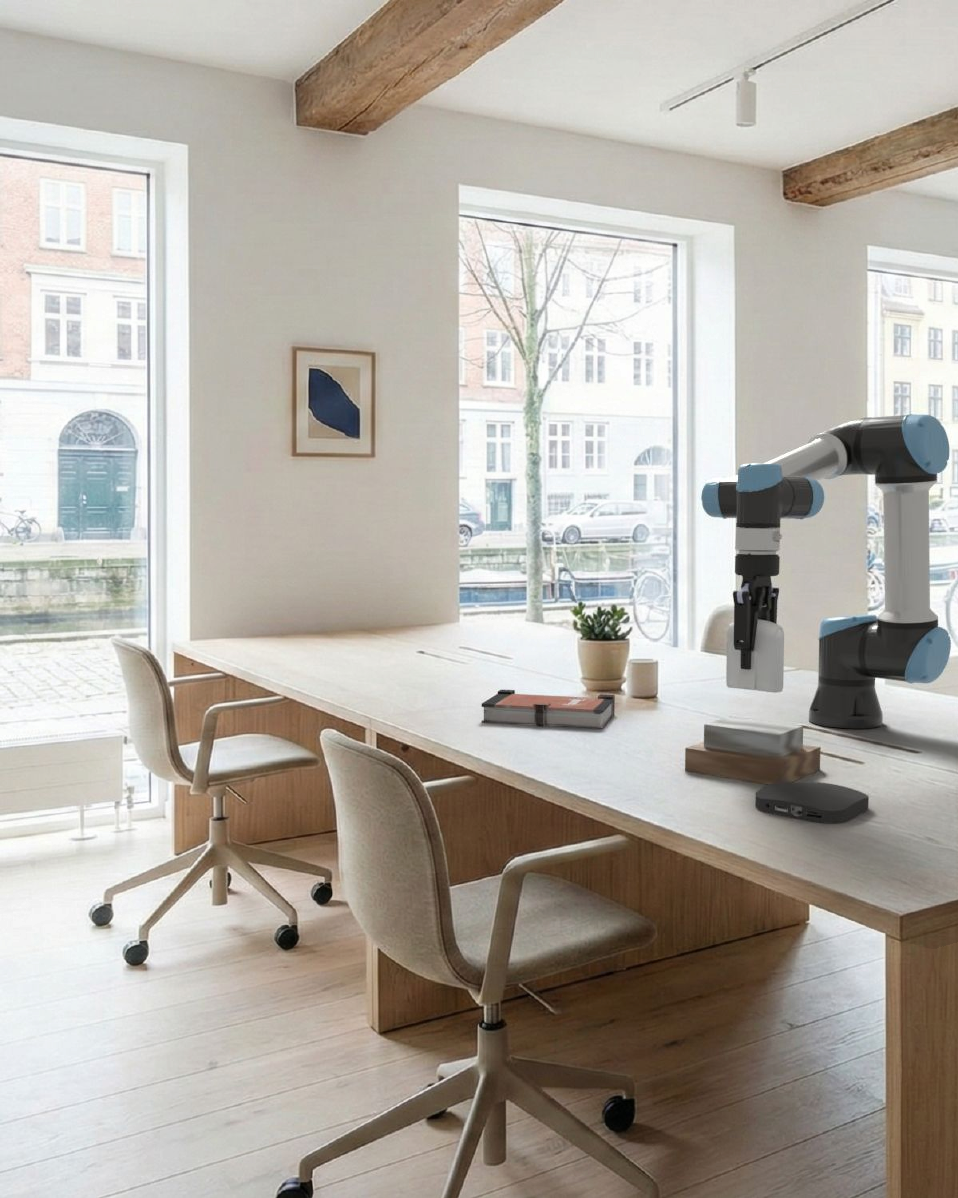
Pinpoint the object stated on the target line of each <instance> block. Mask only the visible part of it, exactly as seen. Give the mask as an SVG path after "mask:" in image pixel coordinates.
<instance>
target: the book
mask: <svg viewBox="0 0 958 1198" xmlns="http://www.w3.org/2000/svg"><path fill="white" fill-rule="evenodd" d="M615 697H616V696H615V694H603V693H602V694H601V693H600V694H599V695H598V696H597V697H584V696H564V695H563V696H562V695H547V694H546V695H544V694H527V693H525V694H522V693H521V694H520V693H516V690H515V689H499V690H498V691H497V693H496V694H495V695H493V696H492V697H490V698H489V699H487V700H485V701H484V702H482V703H481V708H483V719H482V720H481V723H485V724H499V725H500V724H502V725H517V726H518V725H519V726H535V727H554V728H556V727H558V728H575V729H592V730H603V729H604V728H605V727H606V726H607V725H608V723H609V721H610V720H612V718H613V717H614V716H615V706H616V705H615V703H616V702H615Z"/></svg>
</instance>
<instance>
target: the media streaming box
mask: <svg viewBox="0 0 958 1198" xmlns="http://www.w3.org/2000/svg"><path fill="white" fill-rule="evenodd" d="M869 798H870V796H869V795H868V794H866V793H864V792H862V791H859V790H856V789H854V788H850V787H847V786H843V785H839V784H833V783H828V782H819V781H793V782H777V783H772V784H769V785H768V784H766V785H765V786H763V787H762V788H760V789H758V790H757V791H756V792H755V798H754V799H755V801H754V802H755V804H754V805H755V808H756V809H757V810H759V811H762V812H764V813H767V814H769V813H770V814H773V815H778V816H782V817H788V818H793V819H799V820H803V821H809V822H814V823H819V824H820V823H821V824H840V823H846V822H848V821H851V820H853V819H855V818H857V817H858V816H860V815H862V814H864V813H865V812H867V811H869V800H870V799H869Z"/></svg>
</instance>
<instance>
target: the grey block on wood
mask: <svg viewBox="0 0 958 1198" xmlns="http://www.w3.org/2000/svg"><path fill="white" fill-rule="evenodd" d="M821 749H822V747H821V746H815V745H809V744H804V725H799V724H798V725H797V724H793V723H785V722H784V723H783V722H777V721H771V720H770V721H769V720H762V719H756V718H755V719H754V718H746V717H739V716H732V715H730V716H727V717H724V718H723V717H722V718H720V719H717V720H715V721H711V722H708V723H705V724H704V725H703V741H702V742H699V743H696V744H693V745H689V746H688V747H685V751H684V752H685V753H684V771H687V772H692V773H698V774H704V775H711V776H716V777H722V778H727V779H734V780H739V781H746V782H752V783H756V784H763V785H769V784H772V783H777V782H796V781H797V780H799V779H802V778H803V777H806V776H808V775H810V774H813V773H815V772H818V771H819V770H821Z"/></svg>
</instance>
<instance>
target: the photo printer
mask: <svg viewBox="0 0 958 1198" xmlns="http://www.w3.org/2000/svg"><path fill="white" fill-rule="evenodd" d="M784 649H785V632H784V628H783V627H782V625H779V624H775V623H772V622H769V621H765V620H759V619H758V621H757V629H756V637H755V645H754V650H753V651H757V660H756V688H755V689H752V688H743V687H739V686H740V650H735V648H734V621H733V622H731V623H729V625H728V628H727V630H726V674H725V675H726V680H725V681H726V682H725V683H726V687H727V688H728V689H741V690H750V691H757V692H758V691H759V692H766V693H774V694H775V693H781V692H783V689H784V669H785V668H784V667H785V666H784V665H785V664H784V662H785V661H784V659H785V658H784V657H785V654H784V653H785V650H784Z"/></svg>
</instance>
